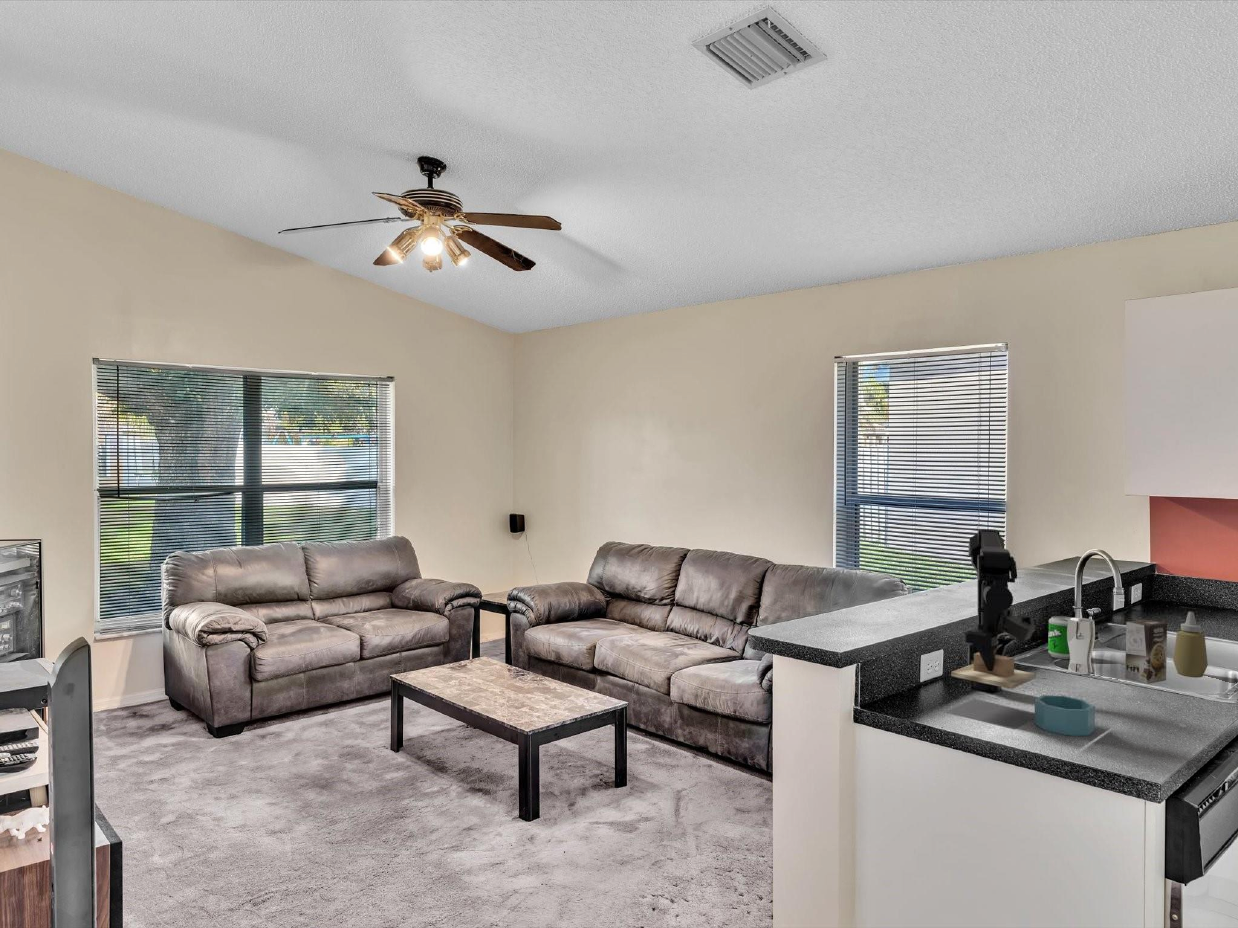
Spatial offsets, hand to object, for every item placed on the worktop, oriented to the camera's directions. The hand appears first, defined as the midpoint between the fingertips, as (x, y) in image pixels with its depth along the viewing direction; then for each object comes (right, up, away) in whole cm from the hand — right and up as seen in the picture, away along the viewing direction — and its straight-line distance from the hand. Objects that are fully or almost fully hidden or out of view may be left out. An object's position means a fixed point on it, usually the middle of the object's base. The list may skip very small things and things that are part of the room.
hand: (993, 669), depth 192 cm
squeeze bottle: (+73, -11, +37) cm, 83 cm away
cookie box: (+57, -11, +32) cm, 67 cm away
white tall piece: (+43, -11, +40) cm, 60 cm away
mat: (0, -11, 0) cm, 11 cm away
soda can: (+48, -11, +58) cm, 76 cm away
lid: (0, -2, 0) cm, 2 cm away
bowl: (+12, -11, -10) cm, 19 cm away
